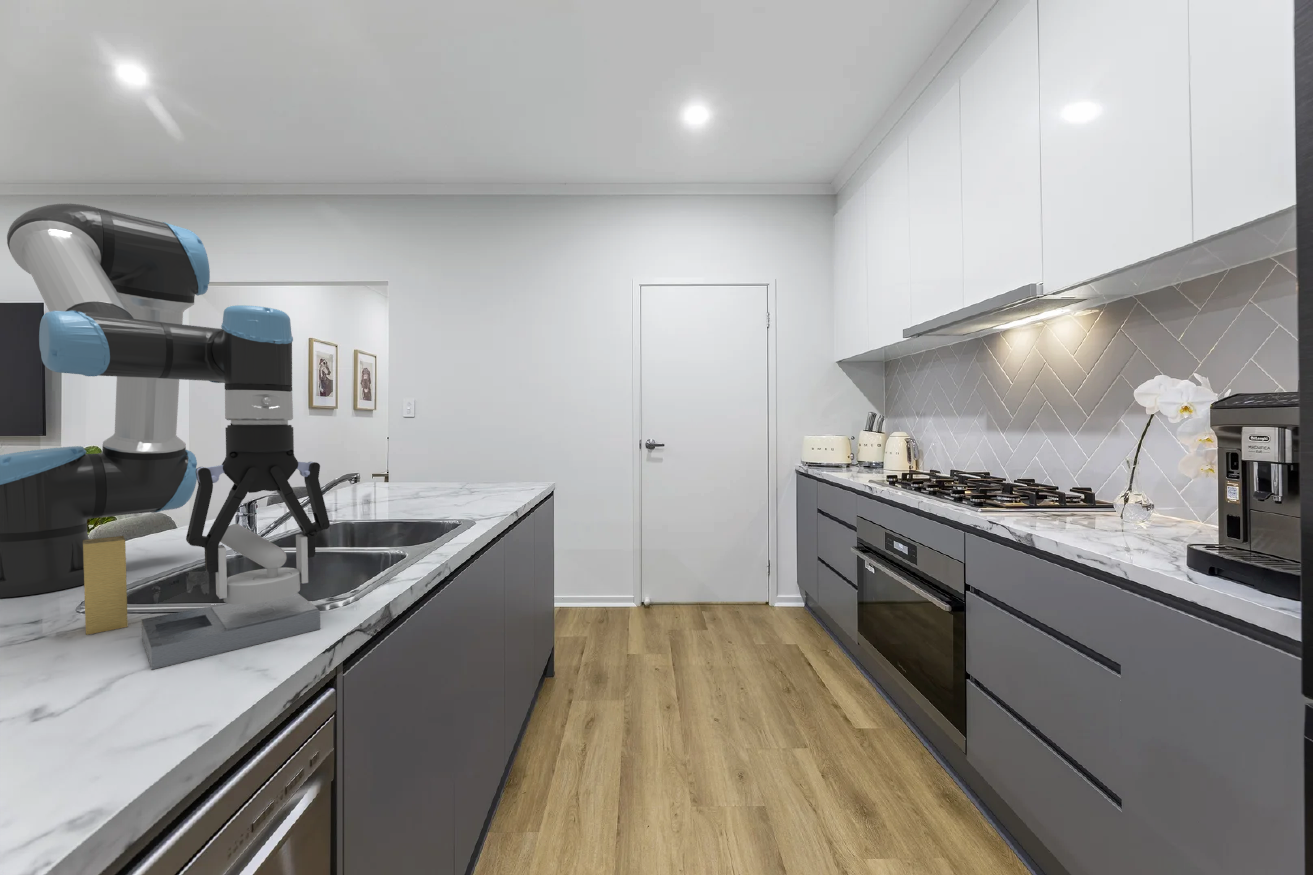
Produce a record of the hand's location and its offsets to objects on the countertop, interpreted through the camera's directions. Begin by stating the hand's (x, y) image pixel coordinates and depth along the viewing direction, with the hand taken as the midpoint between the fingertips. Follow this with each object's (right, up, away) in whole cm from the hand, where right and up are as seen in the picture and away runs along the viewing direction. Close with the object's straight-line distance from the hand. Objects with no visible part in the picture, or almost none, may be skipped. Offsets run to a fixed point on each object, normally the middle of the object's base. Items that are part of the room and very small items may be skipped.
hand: (263, 588), depth 76 cm
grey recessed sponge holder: (-2, -5, -2) cm, 6 cm away
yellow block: (-21, -5, 0) cm, 22 cm away
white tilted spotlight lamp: (-1, -1, 0) cm, 2 cm away
